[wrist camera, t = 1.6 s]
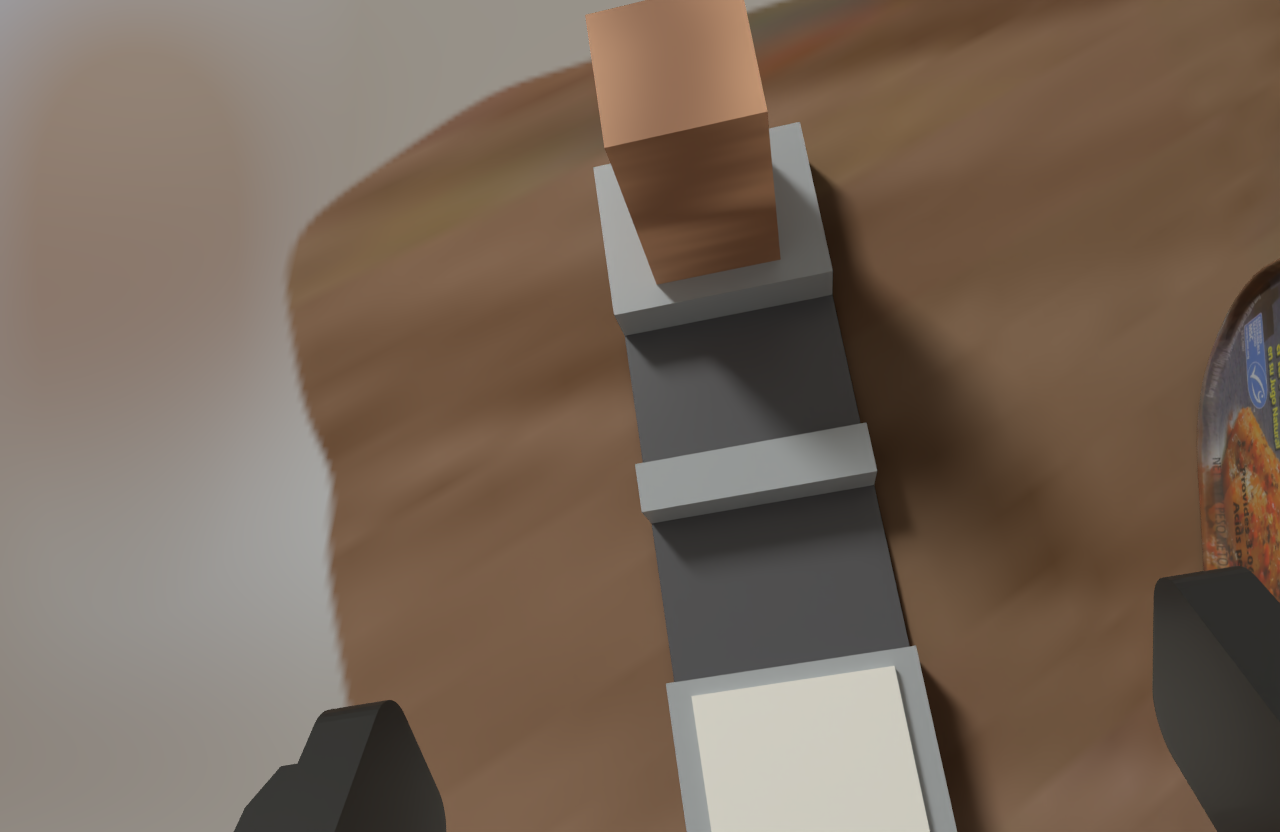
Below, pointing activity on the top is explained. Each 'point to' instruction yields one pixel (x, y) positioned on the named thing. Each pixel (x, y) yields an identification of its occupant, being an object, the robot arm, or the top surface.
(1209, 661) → the robot arm
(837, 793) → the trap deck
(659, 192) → the block
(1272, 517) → the tin
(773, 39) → the top surface
